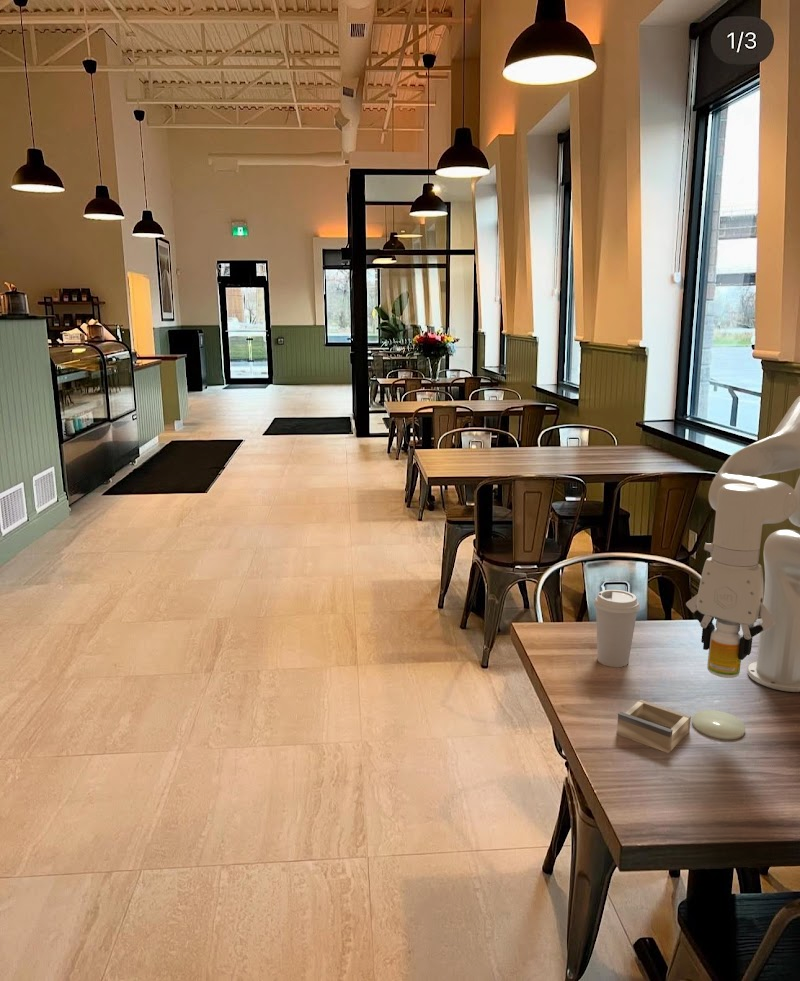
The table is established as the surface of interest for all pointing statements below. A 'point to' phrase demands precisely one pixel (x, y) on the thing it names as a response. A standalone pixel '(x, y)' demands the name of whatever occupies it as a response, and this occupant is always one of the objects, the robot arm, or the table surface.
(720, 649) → the supplement bottle
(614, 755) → the table surface
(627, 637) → the coffee cup
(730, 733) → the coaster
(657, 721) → the can holder
